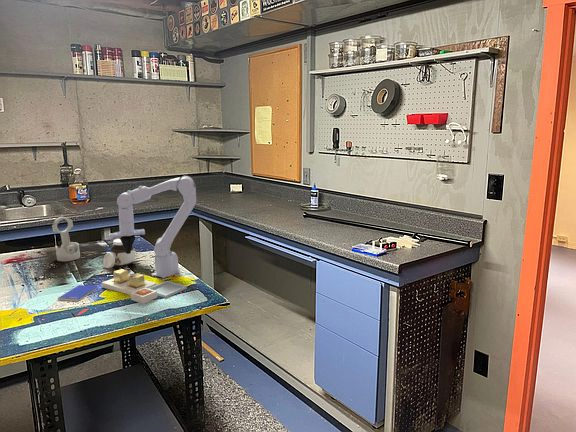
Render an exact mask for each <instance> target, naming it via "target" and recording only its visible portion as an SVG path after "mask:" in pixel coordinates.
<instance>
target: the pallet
mask: <svg viewBox="0 0 576 432" xmlns="http://www.w3.org/2000/svg"><path fill="white" fill-rule="evenodd" d="M144 281H145V285H144V286H141V287H139V288H136V289H135V288H131V287H130V285H129V281H127V282H125V283H122V284H118V283H115V282H114V277H113V278H110V279H108V280H104V281H101V288H104V289H107V290H110V291H112V292H114V291H116V292H118V293H123V294H125V295H129V296H131V294H130V293H133V292H135V291H137V290H140V289H142V288H150V287H153V286H155V285H158V284H157V282H154V281H150V280H147V279H144Z"/></svg>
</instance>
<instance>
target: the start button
mask: <svg viewBox="0 0 576 432" xmlns="http://www.w3.org/2000/svg"><path fill="white" fill-rule="evenodd" d="M149 293H150V292H149V290H140V291H139V292H138V295H142V296H144V295H146V294H149Z"/></svg>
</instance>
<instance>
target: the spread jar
mask: <svg viewBox="0 0 576 432" xmlns="http://www.w3.org/2000/svg"><path fill="white" fill-rule="evenodd" d="M112 242H113V245H112V246H110V248H109V249H110V250H109V252H107V253H106V254H104V256H103V259H102V260H103V261H102V262H103V267H104V268H106V269H111V268H113V267H114V266H115V267H118V268H126V267H129V266H131V264H133V263H134V261H135V259H136V257H135V247H134V246H133V245H132V248H131V253H130V254H127V253H126V252H125V248H124V246H123V244H122V242H121V240H120V238H115V239H113V241H112Z"/></svg>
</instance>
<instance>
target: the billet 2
mask: <svg viewBox="0 0 576 432" xmlns="http://www.w3.org/2000/svg"><path fill="white" fill-rule="evenodd" d="M144 280H145V274H141V273H137V272H136V273H134V274H132V275H129V285H130V287H131V288H135V289H136V288H139V287H141V286H144V285H145V281H144Z"/></svg>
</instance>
